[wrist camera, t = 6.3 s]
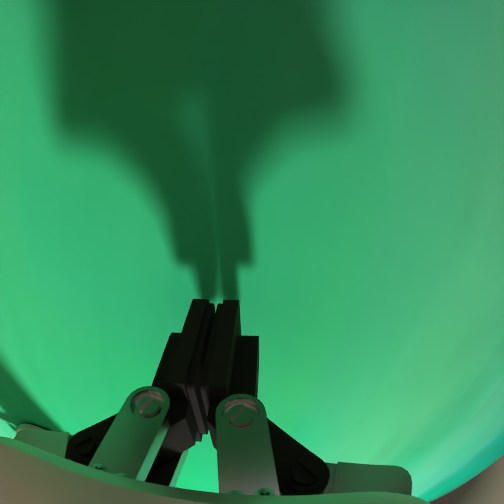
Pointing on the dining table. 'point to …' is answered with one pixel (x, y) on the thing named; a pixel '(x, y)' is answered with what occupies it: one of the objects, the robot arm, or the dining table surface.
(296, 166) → the dining table surface
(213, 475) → the dining table surface
